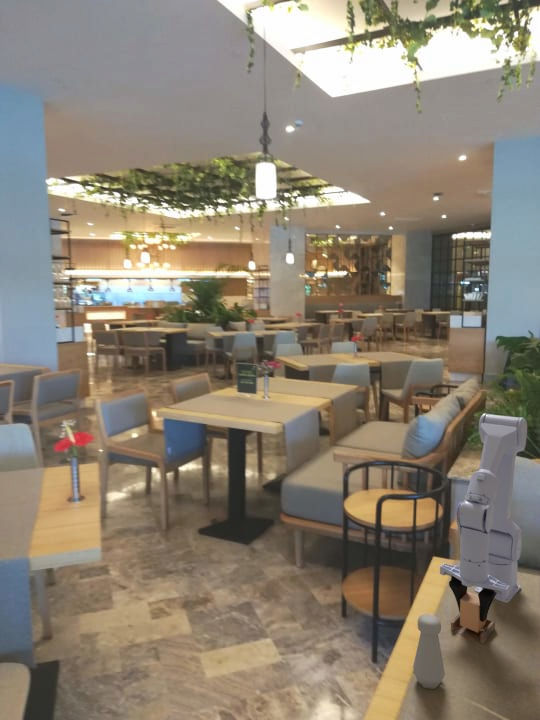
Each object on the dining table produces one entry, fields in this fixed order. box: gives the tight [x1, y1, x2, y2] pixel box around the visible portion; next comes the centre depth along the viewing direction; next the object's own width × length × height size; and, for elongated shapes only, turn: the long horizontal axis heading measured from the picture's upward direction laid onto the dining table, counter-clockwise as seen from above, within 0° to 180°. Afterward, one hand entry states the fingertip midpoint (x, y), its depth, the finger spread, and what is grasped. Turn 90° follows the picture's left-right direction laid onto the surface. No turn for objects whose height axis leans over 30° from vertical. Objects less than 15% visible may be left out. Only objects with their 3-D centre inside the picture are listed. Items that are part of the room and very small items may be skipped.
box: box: [450, 612, 496, 644], centre depth 116 cm, size 6×7×2 cm
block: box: [459, 591, 486, 633], centre depth 116 cm, size 4×4×6 cm
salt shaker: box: [412, 613, 446, 690], centre depth 101 cm, size 6×6×13 cm
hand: (472, 615), depth 116 cm, fingers closed on block, 4 cm apart
